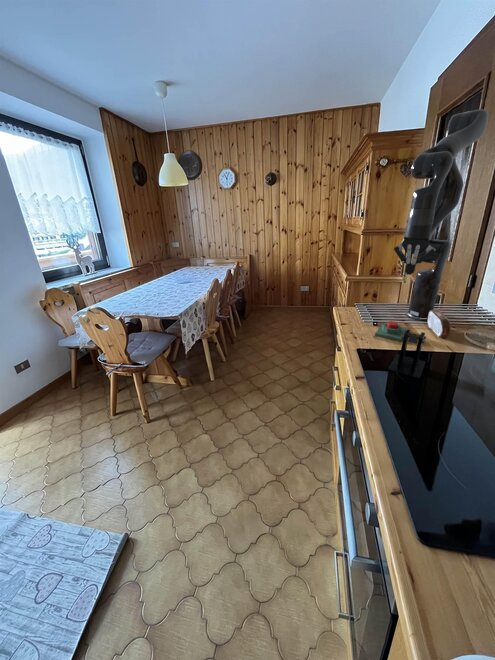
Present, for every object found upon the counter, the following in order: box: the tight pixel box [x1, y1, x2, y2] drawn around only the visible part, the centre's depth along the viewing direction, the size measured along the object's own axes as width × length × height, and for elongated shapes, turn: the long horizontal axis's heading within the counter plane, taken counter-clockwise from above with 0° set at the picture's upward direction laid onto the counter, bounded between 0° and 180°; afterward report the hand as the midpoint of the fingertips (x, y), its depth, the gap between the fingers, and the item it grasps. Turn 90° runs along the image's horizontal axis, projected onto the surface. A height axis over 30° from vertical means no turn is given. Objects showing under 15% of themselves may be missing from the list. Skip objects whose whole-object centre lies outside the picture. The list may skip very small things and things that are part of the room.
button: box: [386, 320, 399, 329], centre depth 111 cm, size 4×4×2 cm
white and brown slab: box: [426, 308, 451, 339], centre depth 111 cm, size 15×3×8 cm, turn 168°
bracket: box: [387, 328, 427, 379], centre depth 90 cm, size 11×9×13 cm
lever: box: [408, 332, 427, 345], centre depth 92 cm, size 13×5×2 cm, turn 143°
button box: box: [374, 322, 408, 343], centre depth 112 cm, size 11×9×4 cm
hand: (409, 274), depth 101 cm, fingers closed
